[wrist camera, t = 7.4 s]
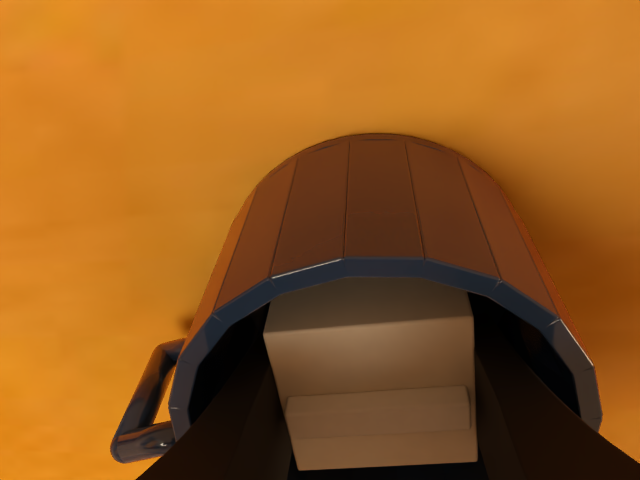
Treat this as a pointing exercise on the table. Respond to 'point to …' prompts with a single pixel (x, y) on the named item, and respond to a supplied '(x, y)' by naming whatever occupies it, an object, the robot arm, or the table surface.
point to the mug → (369, 262)
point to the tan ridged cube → (375, 372)
